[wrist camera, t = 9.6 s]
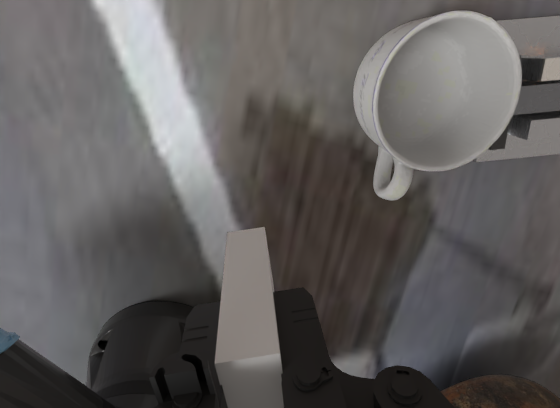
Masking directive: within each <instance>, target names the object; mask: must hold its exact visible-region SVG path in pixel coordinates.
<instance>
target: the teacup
mask: <svg viewBox="0 0 560 408" xmlns="http://www.w3.org/2000/svg"><path fill="white" fill-rule="evenodd" d="M521 84H522V68H521V62H520V56H519V53H518V51H517V48H516V46H515V44H514V42H513V40H512V38H511V37H510V36H509V34H508V33H507V31H506V30H505V29H504V28H503V27H502V26H501V25H500V24H499V23H498V22H496V21H495V20H494V19H492V18H491V17H488V16H486V15H483V14H481V13H477V12H473V11H468V10H456V11H449V12H445V13H441V14H438V15H435V16H432V17H427V18H422V19H418V20H414V21H411V22H408V23H405V24H403V25H400V26H398V27H396V28H394V29H393V30H391V31H389V32H388V33H386V34H385V35H384V36H383V37H381V38H380V39H379V40H378V41H377V42H376V43H375V44H374V45H373V46H372V48H371V49H370V50H369V51H368V53H367V54H366V56H365V57H364V59H363V61H362V63H361V65H360V67H359V69H358V72H357V75H356V79H355V83H354V91H353V101H354V108H355V113H356V116H357V119H358V121H359V123H360V125H361V127H362V129H363V130H364V132H365V133H366V134H367V135H368V137H369V138H370V139H371V140H372V141H374V142H375V143H376V144H377V145H378V146H379V147H378V158H377V162H376V167H375V172H374V180H373V185H374V191H375V193H376V194H377V195H378V196H379V197H381V198H383V199H386V200H397V199H399V198H401V197H402V196H403V195H404V194H405V193H406V192H407V190H408V188H409V186H410V184H411V181H412V177H413V171H414V169H417V170H422V171H446V170H450V169H454V168H457V167H460V166H462V165H465V164H467V163H469V162H471V161H472V160H474V159H475V158H477V157H479V156H480V155H481V154H482V153H484V152H485V151H486V150H487V149H488V148H489V147H490V146H491V145H492V144H493V143H494V142H495V141H496V140H497V139H498V138H499V137H500V136H501V134H502V133H503V131H504V130H505V128H506V127H507V125H508V123H509V122H510V120H511V118H512V116H513V114H514V111H515V109H516V106H517V103H518V100H519V96H520V90H521ZM393 162H394V165H395V169H394V175H393V178H392V180H391V182H390V177H391V171H392V166H393Z"/></svg>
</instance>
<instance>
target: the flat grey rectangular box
mask: <svg viewBox="0 0 560 408" xmlns="http://www.w3.org/2000/svg"><path fill="white" fill-rule="evenodd" d="M496 22H498V23H499V24H500V25H501V26H502V27H503V28H504V29H505V30H506V31H507V33H508V34H509V36H510V37H511V38H512V40H513V42H514V44H515V46H516V48H517V51H518V53H519V55H521V60H520V62H521V68H522V82H531V81H550V80H560V16H549V17H537V18H524V19H512V20H500V21H496ZM555 154H560V111H551V112H540V113H529V114H518V115H513V116H512V118H511V120H510V122H509V127H508V133H507V139H506V144H505V149H497V150H489V149H487V150H486V151H485V152H484V153H482V154H481V155H480V156H479V157H477V158H475V159H474V160H473V161H475V162H483V161H493V160H504V159H514V158H524V157H534V156H544V155H555Z"/></svg>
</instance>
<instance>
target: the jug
mask: <svg viewBox="0 0 560 408" xmlns="http://www.w3.org/2000/svg"><path fill="white" fill-rule="evenodd" d="M440 392H441V393H442V394H443V395H444V396H445V397H446V398H447V399H448V401H449V402H450V403H451V404H452V405H453V406H454V407H455V408H560V398H558V397H557V396H556V395H555V394H553V393H552V392H551V391H549V390H548V389H546V388H545V387H543V386H541V385H540V384H538V383H535V382H533V381H530V380H527V379H524V378H521V377H516V376H511V375H502V374H497V375H485V376H480V377H476V378H471V379H468V380H465V381H463V382H460V383H458V384H455V385H452V386H450V387H448V388H446V389H444V390H442V391H440Z"/></svg>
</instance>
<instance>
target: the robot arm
mask: <svg viewBox="0 0 560 408" xmlns="http://www.w3.org/2000/svg"><path fill="white" fill-rule="evenodd" d="M19 338H20V336H18V335H17V334H16V333H12V332H6V331H5V330H3V329H1V328H0V408H455V407H454V406H453V405H452V404H451V403H450V402H449V401H448V399H447V398H446V397H445V396H444V395H443V394H442V393H441V392H440V390H439V389H438V388H437V387H436V386H435V385H434V384H433V383H432V382H431V380H430V379H428V378H427V377H426V376H425V375H424V374H422V373H421V372H420V371H417V370H415V369H412V368H410V367H405V366H393V367H388V368H385V369H384V370H382V371H381V372H379V373H378V375H377V376H376V378H375V379H368V378H360V377H355V376H351V375H348V374H346V373H344V372H342V371H341V370H339V369H338V368H337V367H336V366H335V365H334V364H333V363H332V362H331V359H330V357H329V355H328V351H327V348H326V344H325V340H324V337H323V333H322V330H321V326H320V323H319V320H318V315H317V312H316V309H315V305H314V301H313V298H312V296H311V295H310V294H309V293H308V292H307V291H306V290H305V289H304V288H296V289H290V290H284V291H277V292H274V285H273V278H272V272H271V265H270V259H269V252H268V245H267V239H266V232H265V227H260V228H254V229H247V230H240V231H233V232H227V239H226V249H225V260H224V270H223V281H222V291H221V301H220V302H213V303H207V304H201V305H195V307H194V308H193V307H190V306H187V305H184V304H180V303H174V302H165V301H155V302H146V303H141V304H137V305H134V306H131V307H128V308H126V309H124V310H122V311H120V312H118V313H117V314H115V315H114V316H113V317H112V318H110V319H109V320H108V321H107V322H106V323H105V325H104V326H103V327H102V329H101V331H100V333H99V334H98V336H97V338H96V340H95V342H94V344H93V346H92V348H91V352H90V355H89V361H88V371H87V382H86V386H85V385H84V384H82V383H81V382H79V381H78V380H77V379H75V378H74V377H72V376H71V375H69V374H68V373H66V372H65V371H64V370H62V369H61V368H59V367H58V366H56V365H55V364H53V363H52V362H51V361H49V360H48V359H46V358H45V357H43V356H42V355H40V354H39V353H38V352H36V351H35V350H33V349H32V348H30V347H29V346H27V345H26V344H24V343H23V342H22V341H20V340H19Z"/></svg>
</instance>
